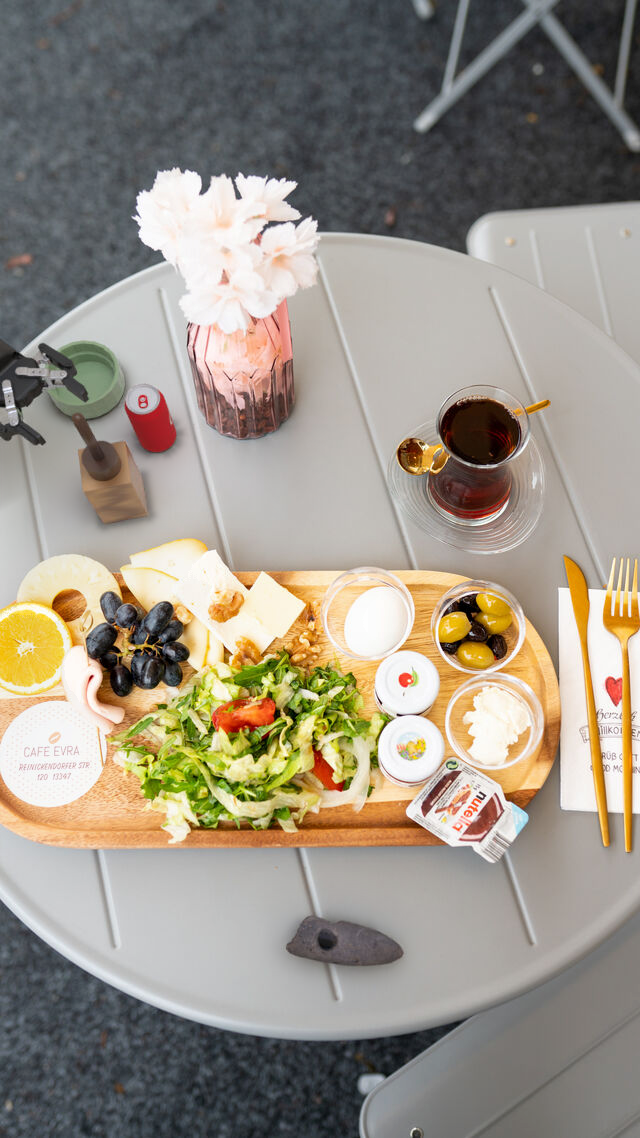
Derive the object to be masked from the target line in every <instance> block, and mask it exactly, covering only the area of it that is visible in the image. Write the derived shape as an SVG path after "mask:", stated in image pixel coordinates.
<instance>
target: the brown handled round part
mask: <svg viewBox="0 0 640 1138" xmlns="http://www.w3.org/2000/svg"><path fill="white" fill-rule="evenodd" d="M71 422H72V423H73V425H74V427H75V428H76V430H77V432H78V434H79V436H80V437H81V439H82V441H83V443H84V444H85V447H84V448H85V449H84V450H83V452H82V456H81V460H82V463H83V465H84V467H85V469H86V470H87V472H88V474H89V475H90V476H91V477H92V478H93V479H95V480H97V481H108V480H111V479H113V478H114V477H115V476H117V474H118V473H119V472H120V469H121V460H120V457H119V455H118V453H117V451H116V449H115V448H114V446H113V445H112V444H110V443H111V442H109V441H105V440H97V437H96V436H95V434H94V432H93V430H92V429H91V427H90V425H89V423H88V421H87V419H85V417H84V416H83V414H81V413H74V414H73V415H72V417H71Z"/></svg>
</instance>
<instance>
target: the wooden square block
mask: <svg viewBox="0 0 640 1138" xmlns="http://www.w3.org/2000/svg"><path fill="white" fill-rule="evenodd" d="M109 443H110V444H112V445H113V446H114V448H115V449H116V451H117V453H118V455H119V457H120V460H121V469H120V472H119V473H118V474H117V476H115V477H114V478H113V479H111V480H108V481H97V480H95V479H93V478H92V477H91V476H90V475H89V474H88V472H87V470H86V469H85V467H84V465H83V463H82V460H81V456H82V452H83V450H84V449H85V448H86V447H84V448H79V449H77V454H78V462H79V463H78V464H79V470H80V478H81V486H82V492H83V494H84V496H85V497H86V499H87V500H88V501H89V503H90V504H91V506H92V508H93V509H94V511H95V512H96V514H97V516H98V517H99V519H100V520H101V521H102V523H103V525H107V524H112V523H118V522H122V521H127V520H132V519H138V518H139V519H140V518H144V517H148V516H149V512H148V505H147V497H146V493H145V486H144V479H143V475H142V474H141V471H140V469H139V467H138V465H137V463H136V460H135V459H134V457H133V455H132V452H131V450H130V447H129V446H128V444H127V442H126V440H121V441H116V442H109Z"/></svg>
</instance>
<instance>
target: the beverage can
mask: <svg viewBox="0 0 640 1138" xmlns="http://www.w3.org/2000/svg"><path fill="white" fill-rule="evenodd" d="M124 411H125V413H126V415H127V418H128V420H129V422H130V424H131V427H132V429H133V431H134V433H135V435H136V438H137V440H138V443H139V444H140V446H141V447H142V448H143V449H144V450H146V451H148V452H151V453H162V452H165V451H167V450H168V449H170V448H171V447H172V446H173V445H174V443H175V442H176V439H177V429H176V426H175V424H174V421H173V418H172V416H171V413H170V410H169V406H168V404H167V401H166V398H165V396H164V394H163V393H162V392H161V390H159V389H157V388H156V387H155V386H153V385H152V384H149V383H139V384H136V385H134V386H132V387H131V388H130V389H129V390H128V391H127V393H126V395H125V399H124Z"/></svg>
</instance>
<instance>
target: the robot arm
mask: <svg viewBox="0 0 640 1138" xmlns="http://www.w3.org/2000/svg"><path fill="white" fill-rule="evenodd" d="M37 349H38V351H37V353H36V354H35V355H33V357H28V356H25V355H24V354H22V353H21V352H19V351H18V350H17V349H15V348H14V347H12V346H11V345H10V344H8V343H7V342H6V341H4V340H3V339H1V338H0V408H1V409H6V411H7V416H8V422H7V423H5V424H3V423H2V422H1V421H0V438H1V439H2V440H4V441H5V442H10V441H11V440H12V438H13V437H14V436H16V435H17V436H20V437H22V438H23V439H25V440H26V441H27V442H29V443H30V444H32V445H33V446H38V445H40V446H45V444H46V443H47V441H46V439H45V437H43V435H42V434H40V433H39V432H38V431H37V430H36V429H34V428H33V427H31V426H30V425H28V424H27V423H26V422H25V421H24V413H23V408H25V407H26V408H28V407H29V406H30V405H32V403H33V401H34V400H35V399H36V398H38V397H39V396H41V394H43V393H44V392H43V390H47V389H55V388H56V387H66V388H67V390H68V391H70V392H71V393H72V394H74V395H75V396H77V397H78V398H79V399H81V400H82V401H83V402H85V403H86V402H87V401H88V400H89V398H88V396H87V395H88V392H87V390H86V388H85V387H84V385H82V384H81V383H80V382H78V381H77V380H75V379H74V378H73V377H74V376H76V375H77V370H76V368H75V366H74V364H73V362H72V360H71V359H69V358H67V357H66V356H64V355H63V354H61V353H59V352H58V351H57V350H56V349H55V348H53V347H52V346H50V345H48V344H46V343H45V342H41V343H39V344H38V345H37ZM42 364H43V365H46V364H48V365H51V364H53V365H54V366H56V367H58V368H59V369H61V370H50V369H48V368H45V367H40V365H42ZM43 378H44V379H45V380H44V379H43Z"/></svg>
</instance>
